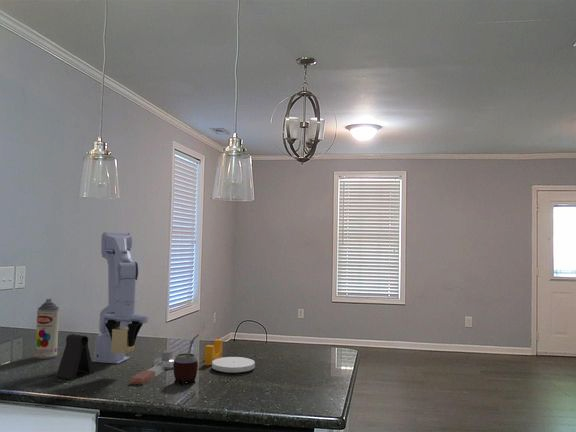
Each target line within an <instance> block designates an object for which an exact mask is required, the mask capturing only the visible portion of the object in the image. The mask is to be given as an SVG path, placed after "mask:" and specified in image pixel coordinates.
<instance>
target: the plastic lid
mask: <svg viewBox="0 0 576 432" xmlns="http://www.w3.org/2000/svg"><path fill="white" fill-rule="evenodd" d="M255 363H256V362H255V360H254V359H251V358H248V357H243V356H242V357H240V356H226V357H222V358H218V359H215V360H213V361H212V366H211V368H212V369H213V370H215V371H218V372H222V373H243V372H249V371H252V370H253V369H255V366H256V364H255Z"/></svg>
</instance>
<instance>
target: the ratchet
mask: <svg viewBox="0 0 576 432" xmlns="http://www.w3.org/2000/svg"><path fill="white" fill-rule="evenodd" d="M175 358H176V356H173V350H163V351H162V352H161V357H157V358H154V361H153V366H152V367H151V368H148V369H146V370H142V371H140V372H139V373H136V374H135V375H133V376H131V379H130V385H136V384H144V385H146V384H147V383H149V382H150V381H152V380H153V379H152V378H154V377H155V376H156V377H157V376H159V375H161V374H162V373H163V371H164V370H165V369H167V370H172V369H171V368H173V363H174V359H175ZM165 371H166V370H165ZM165 371H164V372H165ZM161 372H162V373H161ZM158 374H159V375H158ZM156 377H155V378H156ZM155 378H154V379H155ZM151 379H152V380H151ZM149 380H150V381H149ZM148 381H149V382H148ZM146 382H147V383H146ZM145 383H146V384H145Z"/></svg>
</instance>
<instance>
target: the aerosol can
mask: <svg viewBox="0 0 576 432" xmlns="http://www.w3.org/2000/svg"><path fill="white" fill-rule="evenodd" d="M52 300H53V299H52V298H46V300H45V302H43V303H42V304H41V306H40V307H38V308H37V313H36V315H37V316H36V331H35V333H36V334H35V354H34V355H35V356H34V359H36V360H51V359H52V360H53V359H55V358H57V357H58V339H59V338H58V336H59V320H60V307H59V306H57V305H56V304H55V303H54V301H52Z"/></svg>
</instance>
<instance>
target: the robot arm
mask: <svg viewBox="0 0 576 432" xmlns="http://www.w3.org/2000/svg"><path fill="white" fill-rule="evenodd" d="M100 244H101V245H100V248H101V250H100V251H101V253H100V254H101V257H102V258H104V259H105V260H106V262H107V266H108V267H107V269H108V271H107V273H108V274H107V276H108V277H107V279H108V280H107V281H108V285H107V286H108V288H107V289H108V291H107V292H108V294H107V296H108V298H107V299H108V304H107V306H105V307H104V308H103V309H102V310H101V311H100V313H99V321H98V322H99V323H98V324H99V325H98V330H99V333H98V334H97V336H96V337H95V340H94V354H93V356H94V357H93V360H92V363H93V362H94V363H108V364H120V363H122V362H125V361H126V360H127V361H128V360H129V359H130V357H131V356H126V353H114V352H111V347H112V329H114V328H117V327H120V326H124V327H128V328H129V347H132V346H134V344H135V343H136V339H137V337H138V334H139V333H140V330H141V328H142V327H143V324H147V323H149V321H148V319H149V316H146V315H140V314H139V315H138V314H135V309H136V308H135V307H136V305H135V304H136V285H137V283H136V281H138V279H139V278H138V277H139V264H138V262H137V261H134V258H133V255H132V253H131V251H132V250H131V249H132V246H133V235H132V233H131V232H106V231H104V232H102V233H101V241H100ZM135 345H136V344H135ZM134 347H135V346H134Z"/></svg>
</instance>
